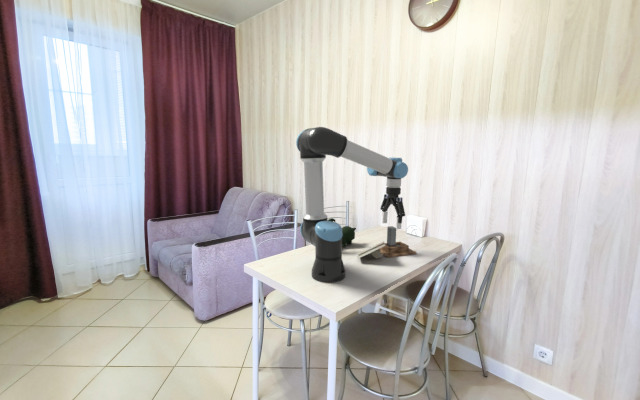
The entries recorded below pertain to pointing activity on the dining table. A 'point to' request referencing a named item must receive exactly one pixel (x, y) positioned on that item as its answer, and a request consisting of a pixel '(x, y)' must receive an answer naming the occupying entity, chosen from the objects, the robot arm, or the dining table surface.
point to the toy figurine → (346, 234)
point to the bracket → (391, 236)
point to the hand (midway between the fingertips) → (391, 226)
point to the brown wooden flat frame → (396, 250)
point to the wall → (373, 251)
